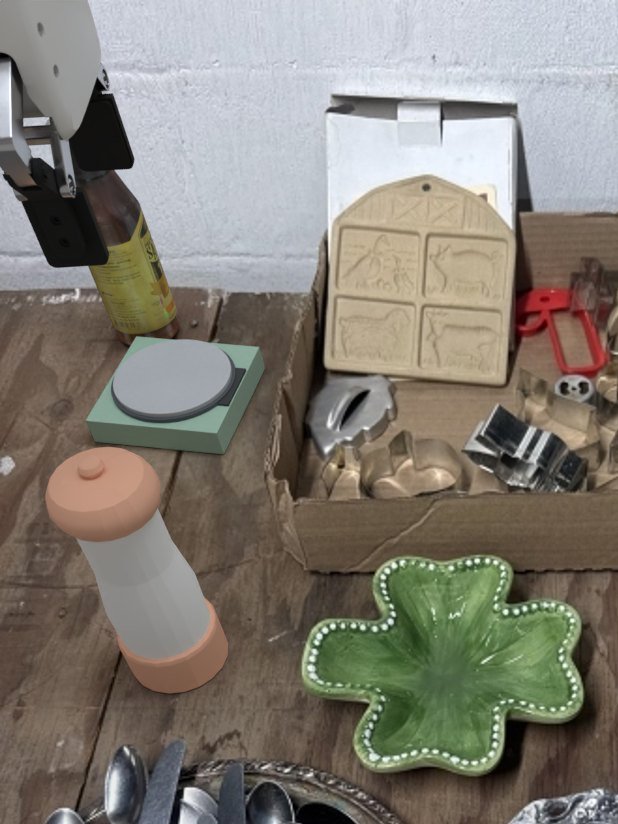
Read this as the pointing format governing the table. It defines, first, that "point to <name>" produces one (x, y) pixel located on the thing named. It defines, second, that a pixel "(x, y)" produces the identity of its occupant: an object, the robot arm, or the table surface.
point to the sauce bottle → (127, 260)
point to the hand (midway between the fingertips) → (95, 213)
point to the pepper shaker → (138, 568)
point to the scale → (177, 395)
